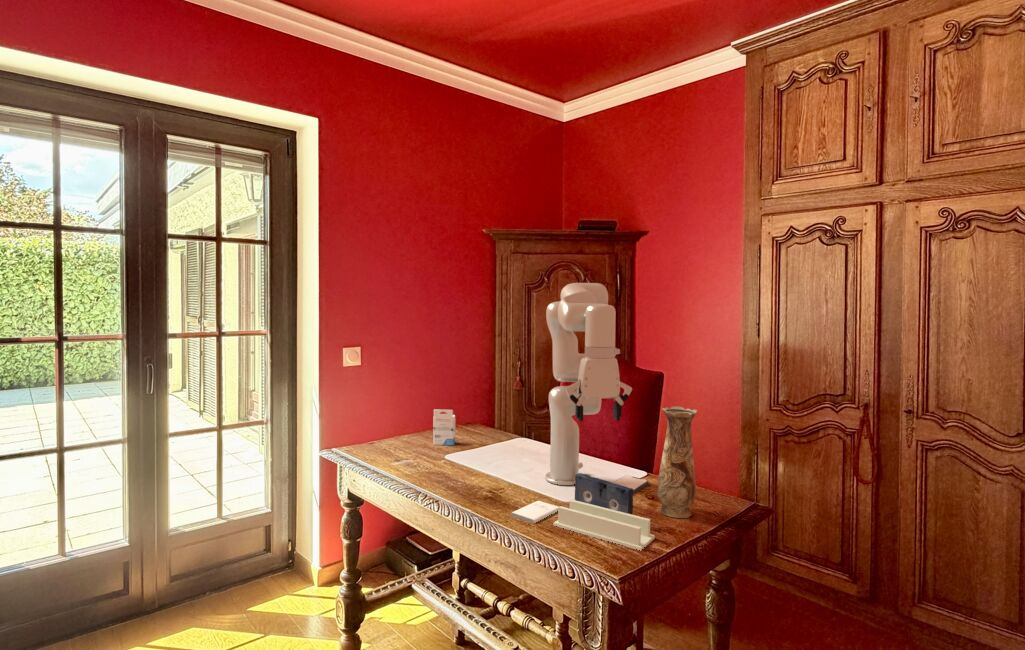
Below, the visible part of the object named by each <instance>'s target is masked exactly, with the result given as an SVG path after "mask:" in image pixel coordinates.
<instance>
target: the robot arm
mask: <svg viewBox="0 0 1025 650" xmlns="http://www.w3.org/2000/svg"><path fill="white" fill-rule="evenodd" d="M560 291H561V292H560V300H559V301H553V302H550V303H549V304H548V305H547V307H546V310H545V311H546V312H545V314H546V315H545V318H546V324H547V328H548V330H549V333H550V336H551V342H552V375H553V377H554V380H556V381H557V382H561V383H567V382H568V383H571V384H570V385H560V386H555V387H553V388H552V389H550V391H549V393H548V406H549V413H550V415H549V416H550V448H549V449H550V451H549V452H550V455H549V456H550V459H549V460H550V461H549V465H550V466H549V467H550V468H549V472H547V473H546V474H545V477H544V478H545V480H546V481H547V482H548V483H550V484H554V485H557V484H558V486H575V485H574V484H575V482H576V481H575V475H576V474H579V473H580V472H579V470H580V469H582V468H584V465H583V462H579V460H580V457H579V456H580V427H579V425H578V423H577V422H576V421H575V420H574V418H573V417H572V416H575V418H576V419H577V421H579V422H580V423H582V422H584V416H585V415H587V416H589V415H596V414H598V413H599V412H600V411H601V408H602V407H601V406H602V399H613V401H614V403H613V404H612V405H613V406H612V407H613V409H612V411H613V412H612V418H613V419H614V420H616V421H617V422H620V420H621V417H622V411H623V410H622V409H623V407H622V406H623V405H624V403H625V402H626V400H628V399H629V398H630V397H629V396H630V394H631V392H632V390H633V388H632V387H631V386H630V385H628V384H626V383H624V382H622V381H620V369H619V363H618V359H617V358H616V355H620V354H621V349H620V348H617V346H616V316H617V315H616V314H617V313H616V308H615V306H614V305H611V304H609V292H608V290H607V288H606V286H605V285H604V284H603V283H599V282H572V283H569V284H568V283H567V284H566V285H565V286H564V287H563V288H562V289H561V290H560ZM575 332H584V353H579V339H578V337H577V335H576V334H575ZM621 388H622V389H623V393H622V394H621V395H620V392H621Z"/></svg>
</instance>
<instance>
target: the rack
mask: <svg viewBox="0 0 1025 650" xmlns="http://www.w3.org/2000/svg"><path fill="white" fill-rule="evenodd" d="M557 515H558V516H557V520H556V521H554V522H553V524H552V526H553V525H554V526H553V527H556V526H557V527H556V528H560V529H563V528H564V530H567V531H570V530H571V531H570V532H573V531H574V532H573V533H576V534H577V533H578V534H580V533H581V534H582V535H584V536H587V535H588V537H592V538H594V537H595V539H597V540H601V539H602V541H605V542H608V541H609V543H612V542H613V544H615V543H616V545H618V544H620V545H619V546H622V545H623V547H625V546H626V548H629V549H633V550H636V549H637V550H636V551H639V550H640V551H639V552H642V551H643V550H644V549H645V548H646V547H647V546H648V545H649V544H651V542H652V541H654V540H655V539H656V538H655V537H656V536H655V534H652V533H651V518H648V517H647V518H646V517H642V516H639V515H635V514H633V515H631V514H627V513H623V512H620V511H616V510H612V509H608V508H604V507H600V506H596V505H592V504H588V503H584V502H580V501H576V500H575V499H570V500H569V508H568V507H565V506H562V505H560V506H558V512H557ZM644 547H645V548H644ZM642 549H643V550H642Z"/></svg>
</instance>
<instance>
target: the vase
mask: <svg viewBox="0 0 1025 650" xmlns="http://www.w3.org/2000/svg"><path fill="white" fill-rule="evenodd" d="M662 411H663V412H664V413H663V414H664V415H665V417H666V421H667V424H666V425H667V426H666V433H665V439H664V445H663V449H662V454H661V455H662V456H661V461H660V466H659V472H658V476H657V477H658V478H657V496H658V497H657V498H658V500H659V502H660V503H661V506H660V508H659V512H660V514H662V515H664V516H667V517H671V518H676V519H686V518H690V517H691V516H692V512H691V510H690V507H692V506H693V504H694V502H695V498H696V488H697V487H696V486H697V485H696V472H695V463H694V461H695V460H694V451H693V441H692V428H691V427H692V421H693V420H694V418H695V417H696V415H697V413H698V410H697V409H695V408H694V409H691V408H684V407H683V406H676V405H675V406H671V407H670V408H669V407H668V406H667V407H665V408H664V407H662Z"/></svg>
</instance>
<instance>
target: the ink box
mask: <svg viewBox="0 0 1025 650" xmlns="http://www.w3.org/2000/svg"><path fill="white" fill-rule="evenodd" d="M432 419H433V420H432V422H433V423H432V427H433V428H432V430H433V431H432V433H433V434H432V438H433V439H432V440H433V441H432V444H433V446H454V445H455V443H456V415H455V414H454V410H453V409H435V408H434V409H433V417H432Z"/></svg>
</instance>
